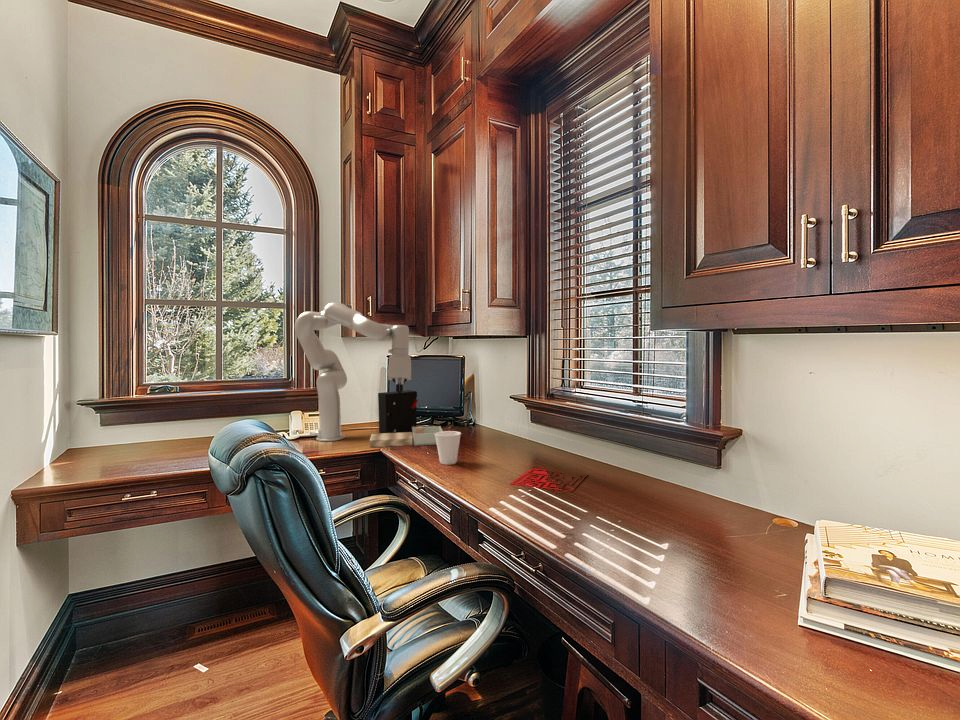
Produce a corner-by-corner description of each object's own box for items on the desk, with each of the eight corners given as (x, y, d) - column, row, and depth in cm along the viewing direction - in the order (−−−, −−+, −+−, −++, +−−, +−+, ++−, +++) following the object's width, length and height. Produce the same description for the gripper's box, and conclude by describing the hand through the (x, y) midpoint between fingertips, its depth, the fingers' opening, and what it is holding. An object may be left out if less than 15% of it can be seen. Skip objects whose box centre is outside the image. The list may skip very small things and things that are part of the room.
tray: (413, 445, 217) (413, 434, 217) (412, 438, 234) (412, 427, 234) (443, 444, 219) (443, 432, 219) (440, 436, 236) (440, 426, 236)
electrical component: (408, 428, 258) (407, 389, 257) (418, 431, 250) (418, 391, 249) (377, 433, 247) (376, 392, 246) (387, 436, 239) (386, 394, 238)
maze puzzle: (509, 486, 158) (509, 483, 158) (531, 470, 176) (531, 468, 176) (572, 493, 150) (572, 491, 150) (588, 476, 168) (588, 474, 168)
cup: (462, 459, 192) (462, 430, 191) (460, 466, 182) (460, 435, 181) (436, 459, 192) (435, 431, 191) (433, 466, 182) (432, 436, 181)
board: (369, 447, 215) (369, 440, 215) (371, 440, 230) (371, 433, 230) (412, 445, 218) (412, 438, 218) (411, 438, 233) (411, 432, 233)
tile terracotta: (416, 428, 227) (423, 428, 228) (416, 426, 232) (423, 426, 232) (416, 439, 227) (423, 439, 228) (416, 437, 232) (423, 437, 233)
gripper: (383, 352, 223) (382, 393, 224) (417, 353, 226) (416, 394, 226) (383, 351, 230) (382, 392, 231) (416, 352, 233) (415, 392, 234)
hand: (399, 392), depth 229 cm, fingers closed
